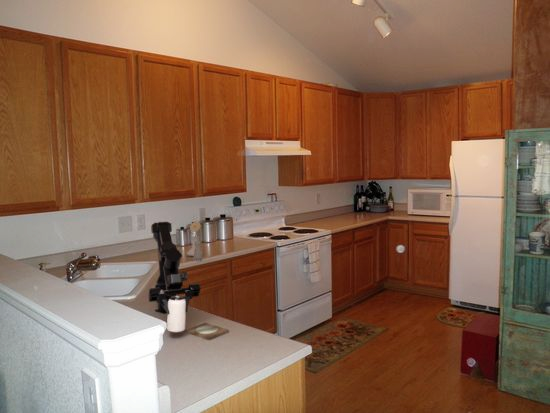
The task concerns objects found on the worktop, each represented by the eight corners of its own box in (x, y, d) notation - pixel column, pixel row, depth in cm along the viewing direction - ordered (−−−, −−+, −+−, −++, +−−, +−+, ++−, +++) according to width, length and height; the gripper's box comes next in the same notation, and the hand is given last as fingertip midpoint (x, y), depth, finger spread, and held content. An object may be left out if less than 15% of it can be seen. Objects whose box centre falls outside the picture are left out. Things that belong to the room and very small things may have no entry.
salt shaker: (193, 259, 304) (192, 241, 302) (201, 259, 306) (200, 240, 305) (194, 261, 298) (194, 242, 297) (203, 260, 300) (202, 241, 299)
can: (186, 326, 167) (187, 295, 166) (183, 333, 160) (184, 300, 159) (168, 326, 166) (169, 295, 165) (165, 332, 160) (166, 300, 159)
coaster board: (185, 332, 168) (185, 329, 168) (205, 325, 176) (205, 322, 176) (209, 340, 160) (209, 337, 160) (228, 332, 168) (228, 329, 168)
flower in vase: (183, 256, 317) (182, 221, 315) (195, 253, 326) (194, 219, 323) (194, 258, 309) (194, 222, 306) (207, 255, 317) (206, 221, 315)
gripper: (148, 266, 161) (152, 305, 152) (199, 262, 168) (206, 299, 159) (146, 282, 169) (150, 320, 160) (195, 277, 176) (201, 313, 167)
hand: (177, 312), depth 161 cm, fingers closed on can, 6 cm apart
